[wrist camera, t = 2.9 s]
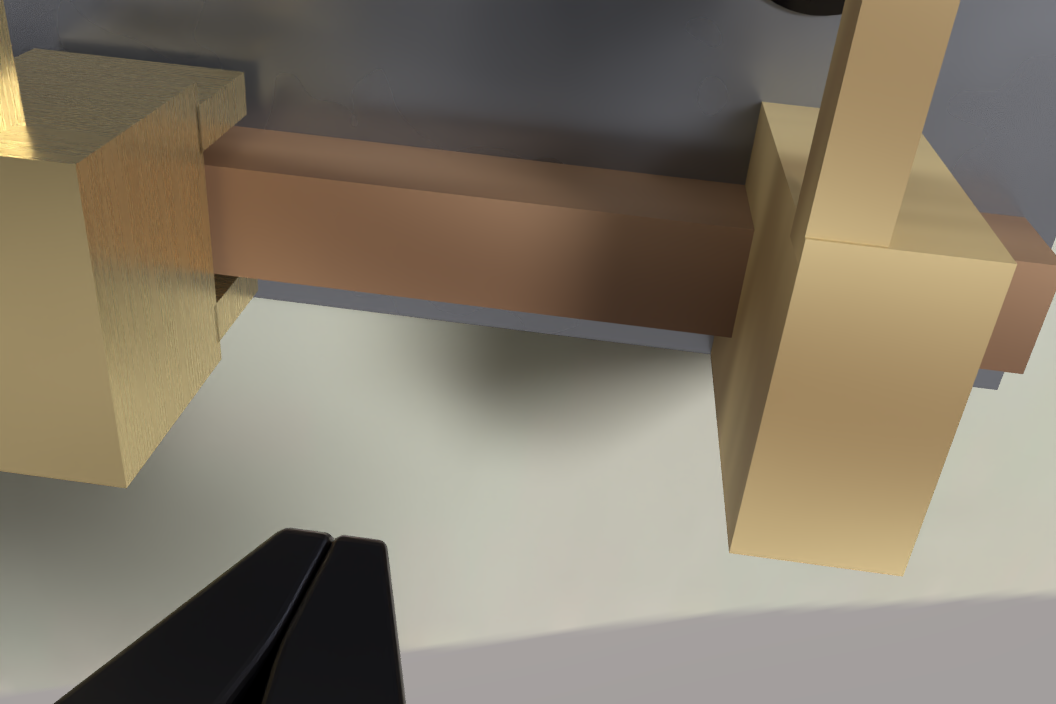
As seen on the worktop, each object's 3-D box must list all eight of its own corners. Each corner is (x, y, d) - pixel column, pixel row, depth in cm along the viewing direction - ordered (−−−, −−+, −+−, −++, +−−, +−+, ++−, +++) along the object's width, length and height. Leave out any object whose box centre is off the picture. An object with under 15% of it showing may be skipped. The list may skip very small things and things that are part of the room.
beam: (964, 385, 15) (1070, 599, 11) (-554, 196, 17) (-927, 329, 13) (1138, -98, 12) (1379, -31, 8) (-798, -289, 13) (-1417, -314, 9)
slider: (259, 306, 16) (125, 488, 12) (74, 283, 16) (-118, 455, 12) (227, -187, 12) (23, -164, 8) (-9, -210, 12) (-320, -199, 8)
